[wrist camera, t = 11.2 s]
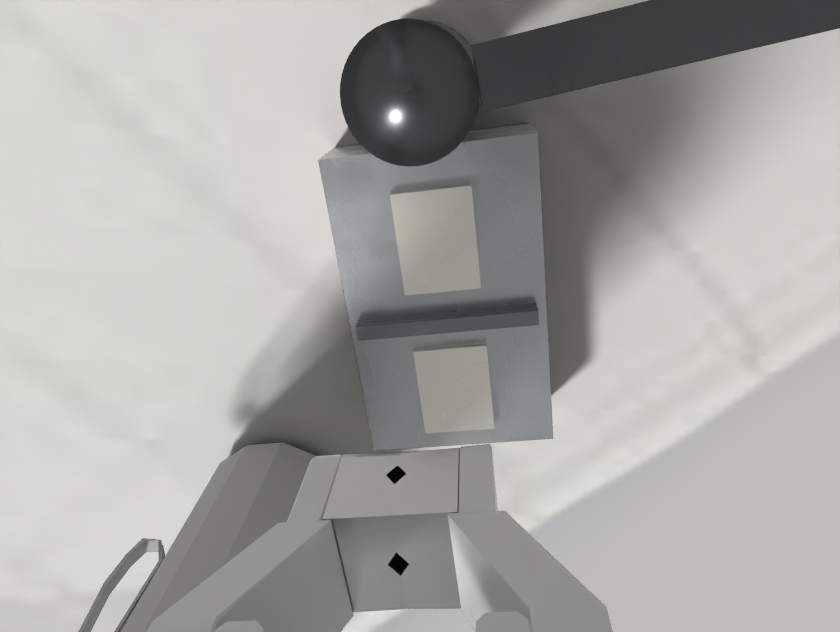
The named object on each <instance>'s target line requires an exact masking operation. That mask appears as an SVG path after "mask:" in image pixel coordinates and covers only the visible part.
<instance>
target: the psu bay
mask: <svg viewBox="0 0 840 632" xmlns="http://www.w3.org/2000/svg"><path fill="white" fill-rule="evenodd" d="M318 161H319V166H320V172H321V177H322V182H323V187H324V193H325V198H326V203H327V208H328V213H329V219H330V224H331V229H332V234H333V240H334V245H335V250H336V255H337V260H338V266H339V271H340V276H341V281H342V287H343V292H344V297H345V302H346V307H347V313H348V318H349V323H350V328H351V333H352V339H353V344H354V349H355V354H356V360H357V365H358V370H359V375H360V380H361V386H362V391H363V396H364V401H365V407H366V412H367V417H368V422H369V427H370V433H371V438H372V443H373V448H374V451H375V450H390V449H405V448H420V447H435V446H450V445H465V444H480V443H495V442H510V441H525V440H540V439H553V425H552V405H551V385H550V365H549V345H548V325H547V305H546V285H545V265H544V245H543V225H542V205H541V185H540V165H539V145H538V132H537V131H536V130H535V129H534V128H533V127H532V126H531V124H530V123H529V124H521V125H513V126H505V127H497V128H489V129H481V130H473V131H469V132H468V134H467V135H466V137H465V138H464V140H463V141H462V142H461V143H460V144H459V145H458V146H457V148H456V149H454V150H453V151H452V152H451V153H450V154H448V155H447V156H445V157H443V158H442V159H440V160H438V161H435V162H433V163H430V164H427V165H422V166H412V167H406V166H398V165H394V164H390V163H388V162H385V161H383V160H381V159H379V158H377V157H375V156H374V155H372V154H371V153H369V152H368V151H367V150H366V149H365V148H364V147H363V146H362V145H353V146H345V147H337V148H333V149H332V150H331V151H329V152H328V153H327V154H325V155H324V156H323V157H321V158H320V159H319V160H318Z"/></svg>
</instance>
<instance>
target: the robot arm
mask: <svg viewBox="0 0 840 632" xmlns="http://www.w3.org/2000/svg"><path fill="white" fill-rule="evenodd" d="M439 608H442V609H446V608H447V609H448V608H461V611H462V613H463V614H464V615H465V617H466V619H467V620H468V622H469V623H470V625H471V626H472V628H473V630H474V631H475V632H613V631H612V628H611V624H610V620H609V616H608V612H607V608H606V606H605V605H604V604H603V603H602V602H601V601H600V600H599V599H598V598H597V597H596V596H595V595H593V594H592V593H591V592H590V591H589V590H588V589H587V588H586V587H585V586H584V585H583V584H582V583H581V582H580V581H579V580H578V579H576V577H574V576H573V575H572V574H571V573H570V572H569V571H568V570H567V569H566V568H565V567H564V566H563V565H562V564H561V563H560V562H559V561H558V560H556V559H555V558H554V557H553V556H552V555H551V554H550V553H549V552H548V551H547V550H546V549H545V548H544V547H543V546H542V545H541V544H540V543H538V542H537V541H536V540H535V539H534V538H533V537H532V536H531V535H530V534H529V533H528V532H527V531H526V530H525V529H524V528H523V527H522V526H521V525H519V524H518V523H517V522H516V521H515V520H514V519H513V518H512V517H511V516H510V515H509V514H508V513H507V512H506V511H498V507H497V497H496V487H495V477H494V467H493V456H492V447H491V446H490V444H486V445H476V446H466V447H461V448H452V449H439V450H426V451H413V452H384V453H361V454H345V455H342V454H340V455H325V456H315V457H314V458H313V459H312V460H311V461H310V463H309V466H308V469H307V471H306V474H305V476H304V479H303V482H302V484H301V487H300V489H299V492H298V495H297V497H296V500H295V502H294V505H293V508H292V510H291V513H290V515H289V518H288V521H287V522H282V523H277V524H276V525H275V526H274V527H272V528H271V529H270V530H268V531H267V532H266V533H265V534H263V535H262V536H261V537H259V538H258V539H257V540H256V541H254V542H253V543H252V544H251V545H249V546H248V547H247V548H245V549H244V550H243V551H242V552H240V553H239V554H238V555H236V556H235V557H234V558H233V559H231V560H230V561H229V562H228V563H226V564H225V565H224V566H222V567H221V568H220V569H219V570H217V571H216V572H215V573H213V574H212V575H211V576H210V577H208V578H207V579H206V580H205V581H203V582H202V583H201V584H199V585H198V586H197V587H196V588H194V589H193V590H192V591H190V592H189V593H188V594H187V595H185V596H184V597H183V598H182V599H180V600H179V601H178V602H176V603H175V604H174V605H173V606H171V607H170V608H169V609H167V610H166V611H165V612H164V613H162V614H161V615H160V616H159V617H157V618H156V619H155V620H153V621H152V623H151V625H150V627H149V628H148V630H147V632H341V631H342V629H343V628H344V627H345V626H346V624H347V623H348V622H349V620H350V619H351V618H352V617H353V612H365V611H380V610H395V609H439Z"/></svg>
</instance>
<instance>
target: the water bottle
mask: <svg viewBox="0 0 840 632" xmlns="http://www.w3.org/2000/svg"><path fill="white" fill-rule="evenodd" d="M314 457H315V455H313V454H311V453H308V452H306V451H303V450H301V449H299V448H296V447H294V446H291V445H289V444H286V443H284V442H281V443H268V444H255V445H247V446H245V447H243V448H242V449H240V450H239V451H237V452H236V453H234V454H233V455H231V456H230V457H228V458H227V459H225V460H224V461H222V462H221V463H220V465H219V466H218V468H217V470H216V471H215V473H214V475H213V476H212V478H211V480H210V482H209V483H208V485H207V487H206V488H205V490H204V492H203V493H202V495H201V497H200V498H199V500H198V502H197V504H196V505H195V507H194V509H193V510H192V512H191V514H190V515H189V517H188V519H187V520H186V522H185V524H184V526H183V527H182V529H181V531H180V532H179V534H178V536H177V537H176V539H175V541H174V543H173V544H172V546H171V548H170V549H169V551H168V553H167V554H166V556H165V552H164V548H163V545H162V542H161V540H156V539H145V538H143V539H142V540H141V541H140V542H139V543H138V544H137V545H135V546H134V547H133V548H132V549H131V550H130V551H129V552H128V553H127V554H126V555H125V556H124V558H123V559H122V560H121V562H120V563H119V564H118V565H117V567H116V568H115V569H114V571H113V572H112V573H111V574H110V576H109V577H108V578H107V580H106V581H105V582H104V584H103V586H102V588H101V590H100V592H99V594H98V595H97V597H96V599H95V601H94V603H93V605H92V607H91V609H90V611H89V613H88V615H87V617H86V618H85V620H84V622H83V624H82V626H81V628H80V630H79V632H91V630H92V628H93V626H94V624H95V622H96V620H97V618H98V616H99V614H100V612H101V610H102V608H103V606H104V604H105V603H106V601H107V599H108V597H109V595H110V593H111V592H112V591H113V589H114V588H115V587H116V585H117V584H118V583H119V581H120V580H121V579H122V577H123V576H124V575H125V573H126V572H127V571H128V569H129V568H130V567H131V566H132V565H133V564H134V563H135V562H136V561H137V560H138V559H139V558H140V557H141V556H142V555H143V554H144V553H146V552H159V561H158V563H157V565H156V566H155V568H154V569H153V571H152V573H151V574H150V576H149V577H148V579H147V581H146V582H145V584H144V585H143V587H142V589H141V590H140V592H139V593H138V595H137V596H136V598H135V600H134V601H133V603H132V604H131V606H130V608H129V609H128V611H127V612H126V614H125V616H124V617H123V619H122V620H121V622H120V624H119V625H118V627H117V628H116V630H115V632H147V630H148V628H149V627H150V625H151V623H152V621H153V620H155V619H156V618H157V617H159V616H160V615H161V614H162V613H164V612H165V611H166V610H167V609H169V608H170V607H171V606H173V605H174V604H175V603H176V602H178V601H179V600H180V599H182V598H183V597H184V596H185V595H187V594H188V593H189V592H190V591H192V590H193V589H194V588H196V587H197V586H198V585H199V584H201V583H202V582H203V581H205V580H206V579H207V578H208V577H210V576H211V575H212V574H213V573H215V572H216V571H217V570H219V569H220V568H221V567H222V566H224V565H225V564H226V563H228V562H229V561H230V560H231V559H233V558H234V557H235V556H236V555H238V554H239V553H240V552H242V551H243V550H244V549H245V548H247V547H248V546H249V545H251V544H252V543H253V542H254V541H256V540H257V539H258V538H259V537H261V536H262V535H263V534H265V533H266V532H267V531H268V530H270V529H271V528H272V527H274V526H275V525H276V524H277V523H282V522H287V521H288V518H289V515H290V513H291V510H292V508H293V505H294V502H295V500H296V497H297V495H298V492H299V489H300V487H301V484H302V482H303V479H304V476H305V474H306V471H307V469H308V466H309V463H310V461H311V460H312V459H313V458H314Z"/></svg>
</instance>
